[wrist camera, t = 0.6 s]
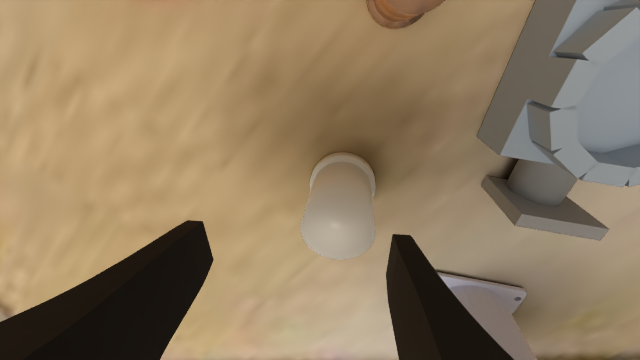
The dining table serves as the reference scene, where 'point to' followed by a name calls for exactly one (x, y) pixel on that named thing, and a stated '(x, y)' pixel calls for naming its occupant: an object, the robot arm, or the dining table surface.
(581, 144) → the valve
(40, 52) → the dining table surface
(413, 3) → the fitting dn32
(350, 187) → the cylinder
